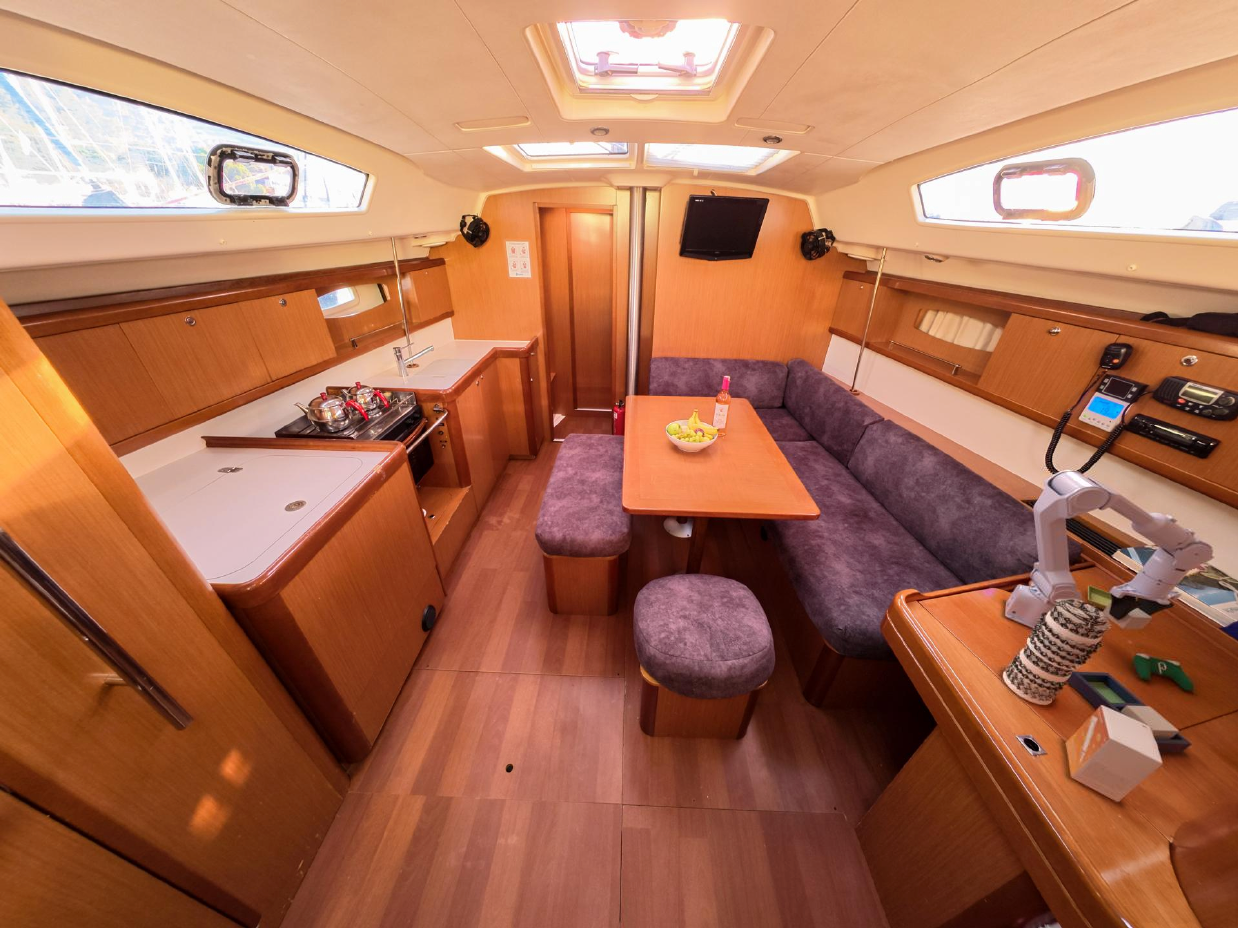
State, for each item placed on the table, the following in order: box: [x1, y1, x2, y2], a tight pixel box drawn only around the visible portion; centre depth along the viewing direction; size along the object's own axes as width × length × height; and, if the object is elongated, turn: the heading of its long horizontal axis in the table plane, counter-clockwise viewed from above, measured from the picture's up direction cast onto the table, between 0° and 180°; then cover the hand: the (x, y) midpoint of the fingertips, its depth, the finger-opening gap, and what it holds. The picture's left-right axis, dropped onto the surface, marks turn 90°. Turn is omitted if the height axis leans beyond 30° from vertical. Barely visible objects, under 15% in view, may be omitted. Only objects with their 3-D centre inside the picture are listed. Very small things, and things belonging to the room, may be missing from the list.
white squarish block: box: [1102, 602, 1153, 630], centre depth 101 cm, size 5×5×4 cm
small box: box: [1065, 705, 1164, 803], centre depth 73 cm, size 8×6×13 cm
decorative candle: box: [1002, 599, 1112, 706], centre depth 86 cm, size 9×9×25 cm
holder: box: [1067, 671, 1193, 754], centre depth 86 cm, size 8×15×3 cm, turn 179°
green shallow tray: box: [1087, 585, 1112, 611], centre depth 115 cm, size 9×9×2 cm
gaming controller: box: [1132, 653, 1195, 692], centre depth 94 cm, size 9×4×6 cm
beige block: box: [1121, 705, 1180, 739], centre depth 82 cm, size 5×5×4 cm
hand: (1124, 616), depth 101 cm, fingers closed on white squarish block, 5 cm apart
